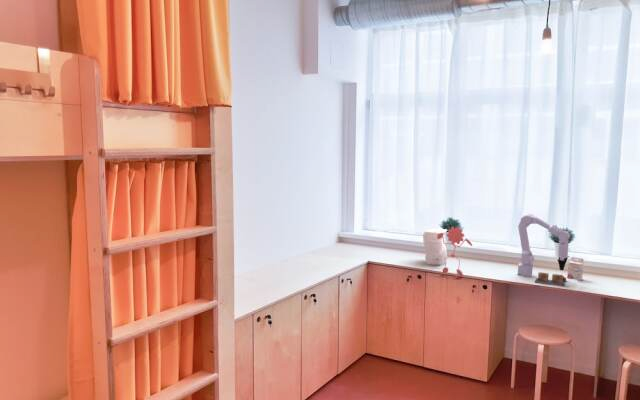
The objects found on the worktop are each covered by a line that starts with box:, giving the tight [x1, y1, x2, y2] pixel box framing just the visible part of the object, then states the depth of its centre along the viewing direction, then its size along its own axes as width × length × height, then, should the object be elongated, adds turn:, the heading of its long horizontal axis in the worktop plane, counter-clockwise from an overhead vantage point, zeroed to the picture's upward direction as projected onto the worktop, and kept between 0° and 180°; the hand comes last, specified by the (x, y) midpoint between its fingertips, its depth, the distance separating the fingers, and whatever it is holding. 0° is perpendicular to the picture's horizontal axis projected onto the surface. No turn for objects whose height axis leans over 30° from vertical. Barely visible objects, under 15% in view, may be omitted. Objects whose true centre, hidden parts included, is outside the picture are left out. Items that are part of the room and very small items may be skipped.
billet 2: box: [551, 273, 564, 284], centre depth 322 cm, size 6×4×6 cm, turn 60°
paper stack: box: [422, 228, 448, 266], centre depth 381 cm, size 21×27×26 cm
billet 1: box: [537, 271, 550, 282], centre depth 327 cm, size 6×4×6 cm, turn 61°
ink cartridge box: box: [566, 256, 584, 281], centre depth 340 cm, size 9×5×15 cm, turn 44°
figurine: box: [437, 226, 473, 280], centre depth 344 cm, size 15×26×35 cm, turn 54°
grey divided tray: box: [534, 277, 566, 287], centre depth 325 cm, size 18×9×2 cm, turn 61°
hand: (562, 268), depth 329 cm, fingers open, 7 cm apart
